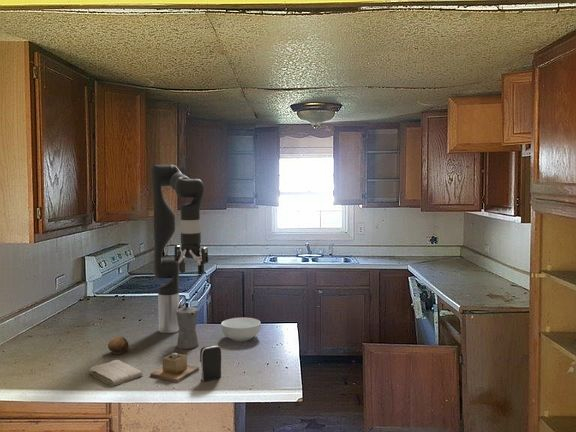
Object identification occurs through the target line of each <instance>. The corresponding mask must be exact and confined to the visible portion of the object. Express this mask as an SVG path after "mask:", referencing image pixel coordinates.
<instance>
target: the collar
mask: <svg viewBox="0 0 576 432" xmlns="http://www.w3.org/2000/svg"><path fill="white" fill-rule="evenodd" d="M177 357H178V358H177V359H172V353H170V354H167V355H166V356H165V357H162V367H163V372H166V373H170V374H175V375H177V374H179V373H181V372H182V371H184V370H186V369H187V365H188V363H187V362H188V360H187V359H188V355H186V354H181V353H177Z"/></svg>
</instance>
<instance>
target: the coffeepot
mask: <svg viewBox="0 0 576 432" xmlns="http://www.w3.org/2000/svg"><path fill="white" fill-rule="evenodd" d="M184 305H185V306H184ZM184 305H183V304H179V307H178V309H176V315H177V321H178V326H179V331H178V335H177V336H178V337H177V344H176V348H178V349H181V350H190V349H191V350H192V349H194V348H195V349H196V348H197V347H198V346H199V341H198V334H197V330H196V326H197V320H198V312H199V311H198V307H193V306H189V302H185V303H184Z"/></svg>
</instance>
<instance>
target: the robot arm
mask: <svg viewBox="0 0 576 432" xmlns="http://www.w3.org/2000/svg"><path fill="white" fill-rule="evenodd" d="M150 172H151V188H152V197H153V198H152V199H153V235H154V236H153V237H154V254H153V255H154V256H153V261H154V262H153V272H154V273H153V274H154V277H155V278H156V279H158V280H159V279H161V280H163V279H170V280H169V281H168V282H166V283H165V284H162V285H160V286H158V289H157V299H158V300H157V301H158V302H157V305H158V307H157V308H158V332H159V333H162V334H174V333H176V332H179V326H178V321H177V315H176V309H178V307H179V305H180V288H179V287H180V286H179V285H180V284H179V282H180V281H179V280H180V279H179V278H180V277H179V275H180V273H181V274H183V273H186V262H185V261H186V260H187V259H194V261H196V262H197V275H198V276H202V275H203V274H204V273H205V265H206V264H208V263H209V252H208V251H209V248H208V246H207V247H206V246H205V247H201V244H202V235H201V234H202V233H201V229H202V227H201V220H200V218H201V217H200V215H201V214H200V208H201V204H202V203H201V202H202V199H203V195H204V191H205V185H204V183H203V181H202V180H201V179H199V178H190V177H188V176H187V175H185V174H184V173H182V172H181V170H180V169H179V167H178V166H177V165H174V164H154V165H153V166H152V168H151V171H150ZM162 187H171V188H172V189H173V190H174V191H175V194H176V196H177V197H179V198H182V199H183V198H184V199H186V198H187V199H188V198H192V200H191V201H190V202H188V203H184V204H182V205H181V206H180V243H181V245H180V244H178V245H175V246H174V256H173V257H162V256H163V252H164V250H165V248H166V247H167V244H168V243H169V242H170V241H171V238H172V237H173V236H174V233H175V231H176V215H175V212H174V211H173V209H172V207H171V206H170V205H169V204H168V202H167V201H166V199H165V198H164V195H163V192H162Z"/></svg>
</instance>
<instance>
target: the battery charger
mask: <svg viewBox="0 0 576 432" xmlns="http://www.w3.org/2000/svg"><path fill="white" fill-rule="evenodd" d="M221 349H222V348H221V347H220V346H218V345H216V344H211V345H206V346H205V345H204V346H203V347H201V349H200V351H199V362H200V363H201V380H202V381H203V382H207V381H212V380H216V379H221V378H222V350H221Z"/></svg>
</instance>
